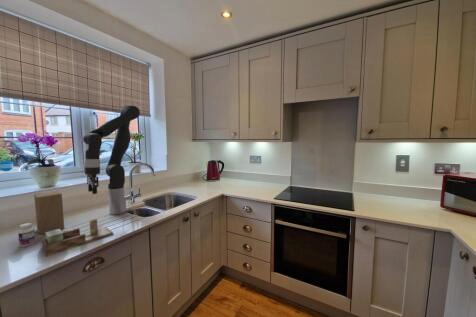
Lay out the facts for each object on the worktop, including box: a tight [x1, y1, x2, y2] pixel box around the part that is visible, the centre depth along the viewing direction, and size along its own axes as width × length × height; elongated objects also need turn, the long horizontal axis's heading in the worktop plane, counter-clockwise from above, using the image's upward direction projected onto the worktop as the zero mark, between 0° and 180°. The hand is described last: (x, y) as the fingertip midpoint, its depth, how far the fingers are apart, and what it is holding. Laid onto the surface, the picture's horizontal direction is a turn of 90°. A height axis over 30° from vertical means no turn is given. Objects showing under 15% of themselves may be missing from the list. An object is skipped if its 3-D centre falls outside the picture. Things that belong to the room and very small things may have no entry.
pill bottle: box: [18, 222, 37, 248], centre depth 96 cm, size 5×5×10 cm
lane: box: [40, 226, 114, 257], centre depth 100 cm, size 26×11×4 cm, turn 140°
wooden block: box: [33, 190, 65, 235], centre depth 112 cm, size 10×10×20 cm
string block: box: [44, 218, 99, 244], centre depth 98 cm, size 19×7×7 cm, turn 140°
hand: (92, 192), depth 124 cm, fingers open, 8 cm apart
